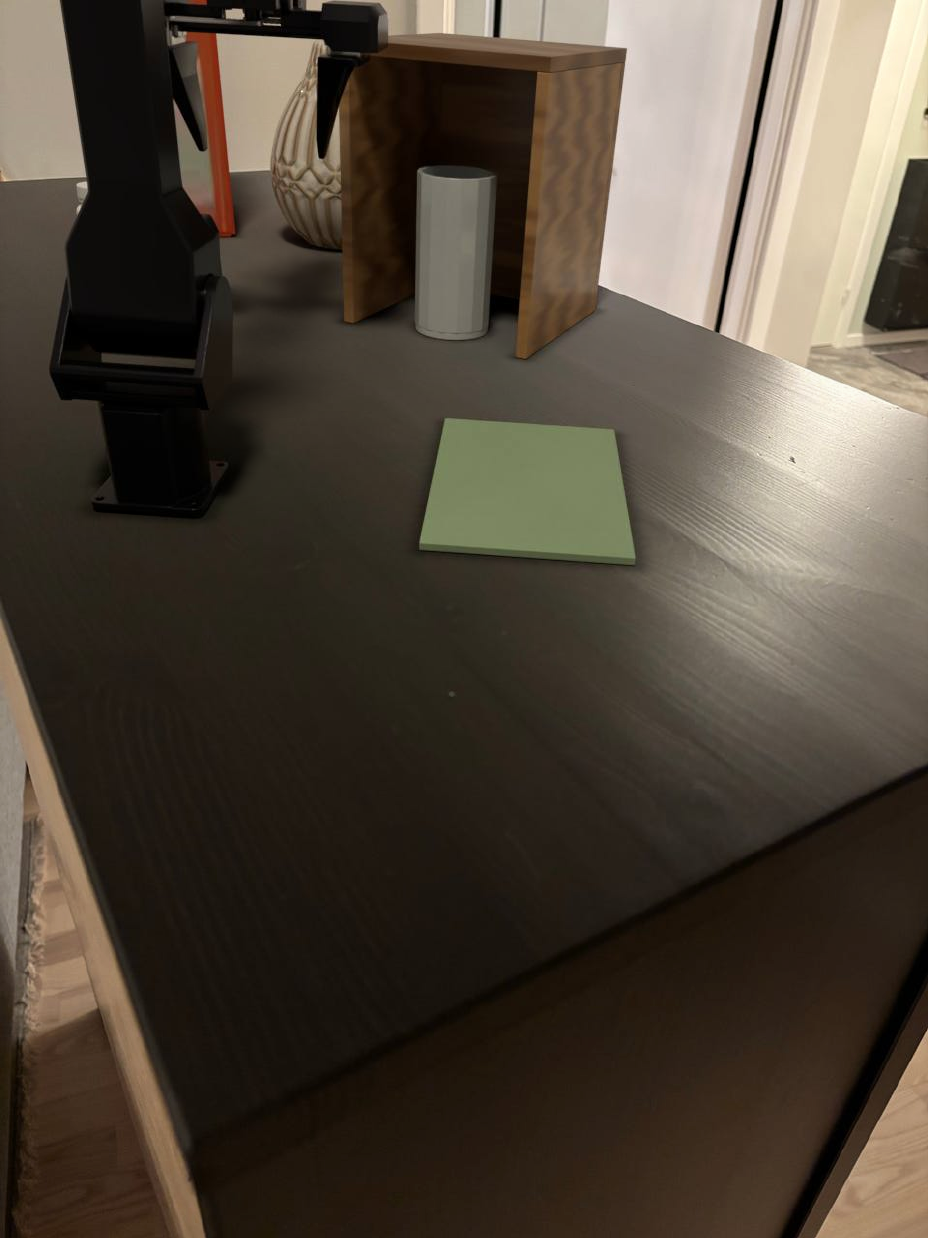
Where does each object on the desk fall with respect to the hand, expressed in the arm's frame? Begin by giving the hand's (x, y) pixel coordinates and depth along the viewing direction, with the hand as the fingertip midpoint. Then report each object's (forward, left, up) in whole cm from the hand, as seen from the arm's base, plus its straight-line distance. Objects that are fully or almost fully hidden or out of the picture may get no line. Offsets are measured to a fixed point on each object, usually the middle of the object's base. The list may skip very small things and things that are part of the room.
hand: (262, 154), depth 73 cm
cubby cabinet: (+10, -16, -15) cm, 24 cm away
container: (+7, -15, -15) cm, 22 cm away
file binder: (+43, +19, -15) cm, 49 cm away
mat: (-24, -22, -15) cm, 36 cm away
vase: (+37, 0, -15) cm, 39 cm away
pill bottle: (+17, +20, -15) cm, 30 cm away
